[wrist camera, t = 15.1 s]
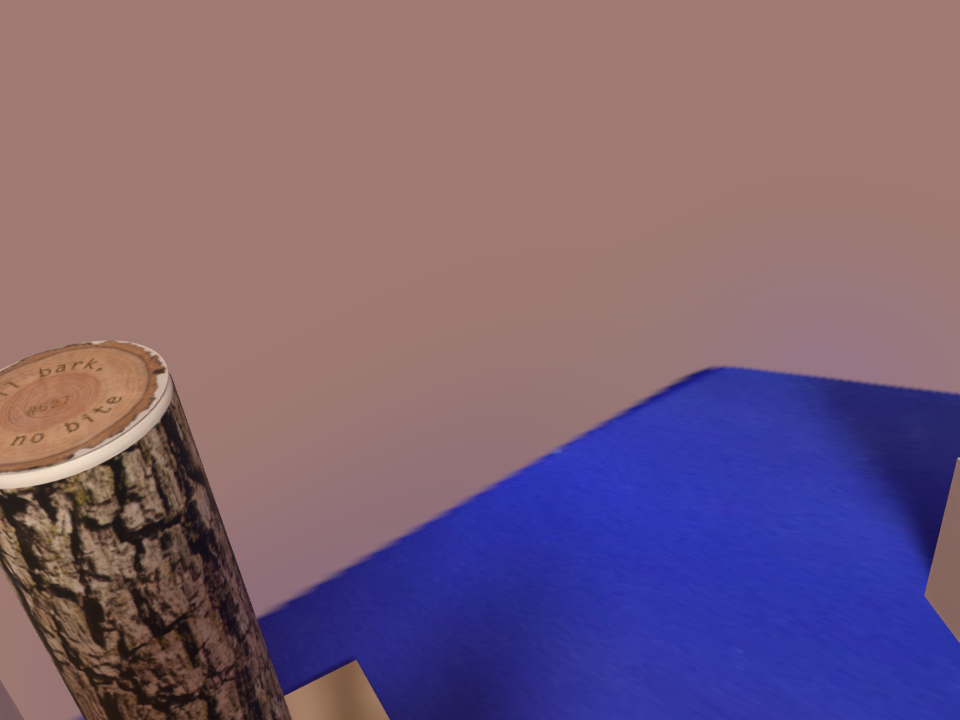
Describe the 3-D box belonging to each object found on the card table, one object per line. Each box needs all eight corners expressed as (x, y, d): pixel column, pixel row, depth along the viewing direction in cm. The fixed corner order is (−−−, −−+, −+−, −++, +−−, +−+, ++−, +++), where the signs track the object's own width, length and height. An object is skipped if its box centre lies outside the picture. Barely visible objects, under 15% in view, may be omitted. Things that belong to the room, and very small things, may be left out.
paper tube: (166, 812, 43) (-59, 380, 30) (305, 751, 45) (155, 319, 32) (188, 953, 38) (-75, 506, 24) (344, 877, 40) (183, 424, 26)
